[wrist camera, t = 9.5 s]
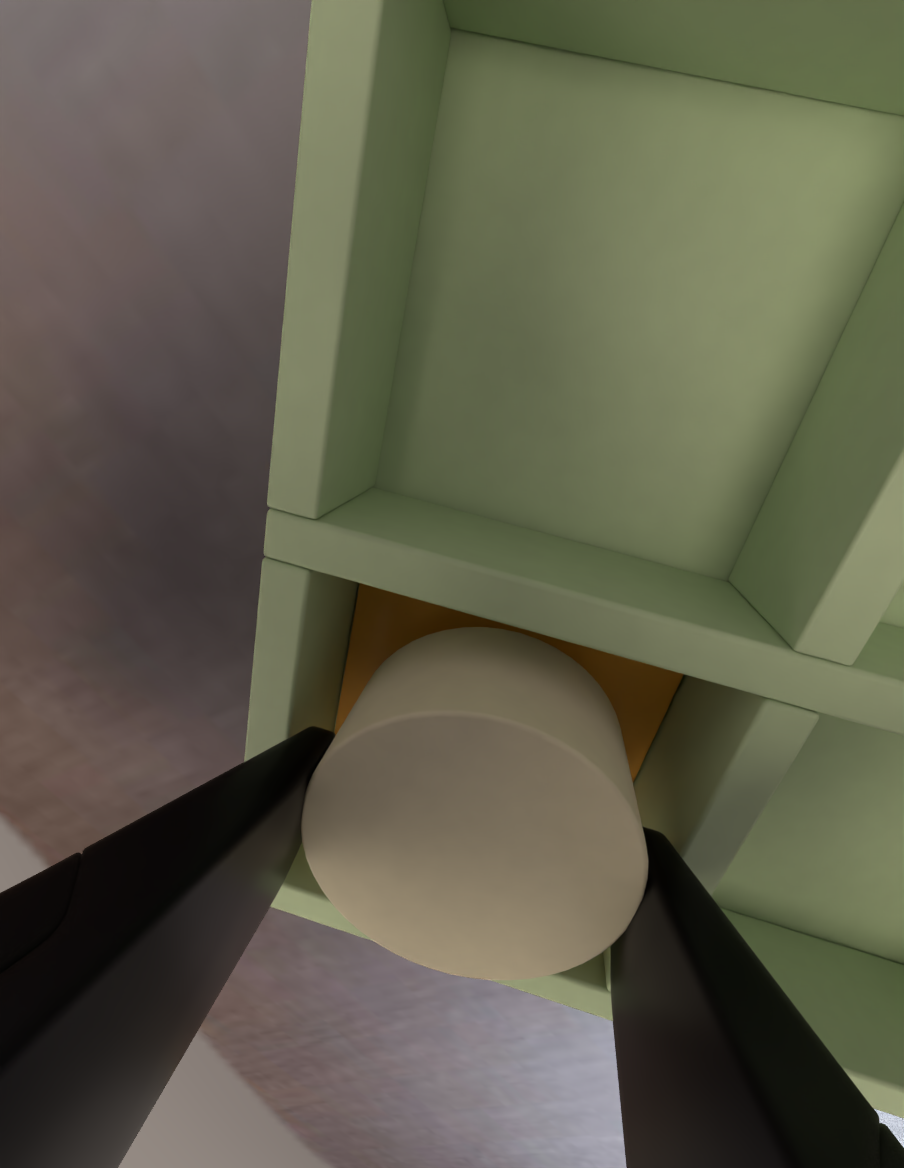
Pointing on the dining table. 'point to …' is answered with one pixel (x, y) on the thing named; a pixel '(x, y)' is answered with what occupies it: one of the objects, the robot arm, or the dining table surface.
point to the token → (479, 809)
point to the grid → (620, 430)
